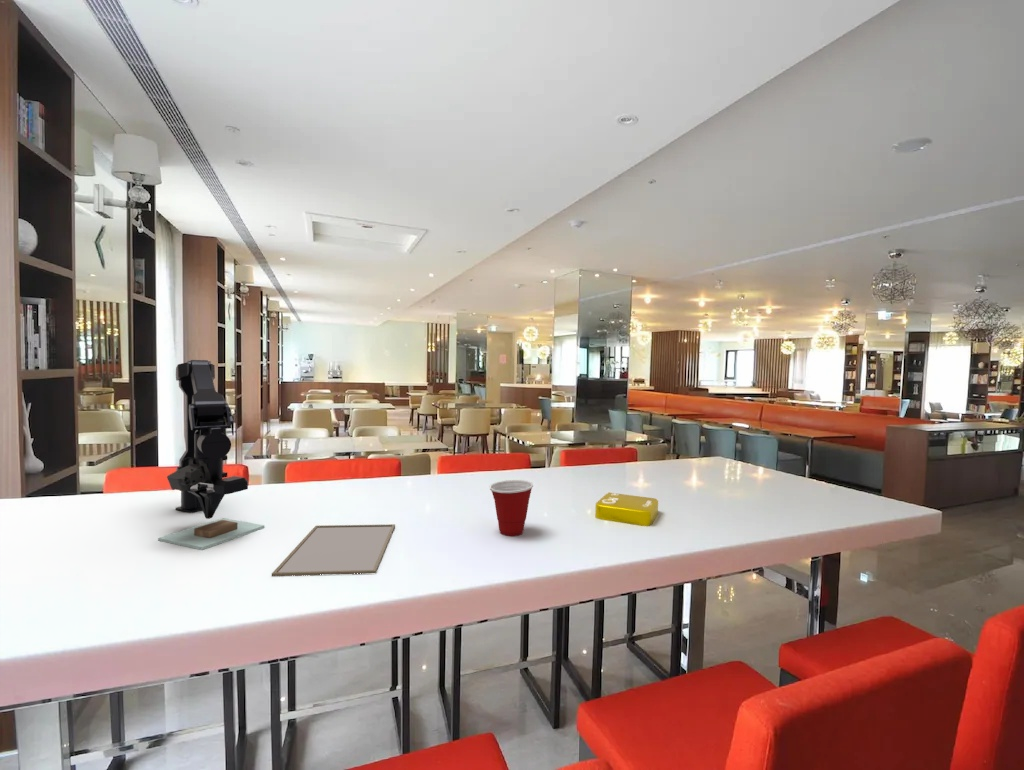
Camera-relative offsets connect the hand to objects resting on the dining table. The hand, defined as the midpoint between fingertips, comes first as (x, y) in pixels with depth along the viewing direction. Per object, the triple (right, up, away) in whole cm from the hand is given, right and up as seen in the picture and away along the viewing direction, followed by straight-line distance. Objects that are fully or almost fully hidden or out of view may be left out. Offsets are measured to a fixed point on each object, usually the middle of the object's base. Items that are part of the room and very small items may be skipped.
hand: (209, 518), depth 114 cm
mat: (+1, -4, 0) cm, 4 cm away
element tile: (+103, -6, +21) cm, 106 cm away
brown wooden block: (0, -2, 0) cm, 2 cm away
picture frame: (+34, -5, -8) cm, 35 cm away
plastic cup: (+71, -5, +5) cm, 71 cm away
